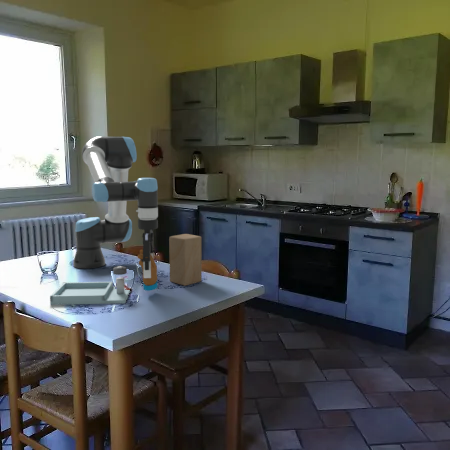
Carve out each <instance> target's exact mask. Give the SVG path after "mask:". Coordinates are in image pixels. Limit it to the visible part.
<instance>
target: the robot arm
mask: <svg viewBox="0 0 450 450" xmlns="http://www.w3.org/2000/svg"><path fill="white" fill-rule="evenodd" d="M81 158H82V160H83V162H84V163H85V165H87V166H88V170H89V172H90V174H91V177H92V180H93V183H92V185H91V194H92V199H93V200H94V202H98V203H101V202H102V203H106V202H107V203H108V206H107V207H108V210H107V213H106V214H105V215H104V219H101V217H98V216H95V217H93V216H92V217H91V216H90V217H86V218H82V219H81V218H80V219H78V220H77V221H76V222H75V230H74V232H75V243H76V246H75V247H76V251H75V255H74V257H73V258H74V259H73V262H72V265H73V267H74V268H76V269H95V268H101V267H103V266H105V265H106V259H105V256H104V253H103V251H102V244H111V243H113V244H114V243H123V242H128V241H129V240H130V239H131V237H132V233H133V221H132V220H131V219H130V216H129V215H128V214H127V202H128V201H129V202H133V201H134V202H135V201H137V209H136V210H135V212H136V213H137V217H138V220H137V228H138V229H139V230H141V231H142V230H143V231H144V232H143V233H142V236H141V237H142V249H143V259H141V262H143V271H142V274H143V273H144V278H151V261H150V254H151V256H152V257H153V258H154V254H155V253H156V250H155V249H154V248H155V247H154V237H155V235H154V234H155V233H154V230H156V229H158V228H159V223H158V222H159V221H158V217H159V206H158V205H159V204H158V200H159V199H158V189H159V188H158V187H159V186H158V180H157V179H156V178H154V177H139V178H137V180H133V181H129V170H130V169H131V168H132V167H133V163H136V161H137V158H138V156H137V147H136V143H135V142H134V139H133V138H131V137H129V136H123V135H122V136H102V135H99V136H94V137H92V138H91V139H89V140H88V141H86V143H85V144H83V147H82V150H81ZM145 257H148V258H145Z"/></svg>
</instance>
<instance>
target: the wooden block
mask: <svg viewBox="0 0 450 450" xmlns="http://www.w3.org/2000/svg"><path fill="white" fill-rule="evenodd" d="M168 241H169V252H168V253H169V282H171V283H175V284H178V285H181V286H188V285H189V286H190V285H194V284H196V283H200V282H202V279H203V277H202V271H203V270H202V269H203V268H202V236H200V235H194V234H191V233H190V234H189V233H182V234H177V235H176V234H175V235H171V236H169V239H168Z"/></svg>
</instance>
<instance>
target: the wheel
mask: <svg viewBox="0 0 450 450" xmlns="http://www.w3.org/2000/svg"><path fill="white" fill-rule="evenodd" d="M112 271H113V275H117V276H119V275H126V274H127V267H126V266H121V265H119V266H114V267H113V269H112Z"/></svg>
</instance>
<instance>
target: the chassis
mask: <svg viewBox="0 0 450 450" xmlns="http://www.w3.org/2000/svg"><path fill="white" fill-rule="evenodd" d="M115 280H116V281H115V282H116V284H115V285H116V286H114V285H113V284H114V283H113V281H88V282H87V281H85V282H84V281H83V282H81V281H79V282H77V281H74V282H73V281H72V282H71V281H69V282H62V283H61V284H60V286H58V287H57V288H56V289H55V291H54V292H53V293H52V294H50V296H49V301H50V302H49V305H50V306H52V305H57V306H59V305H100V304H101V305H102V304H103V305H109V304H110V305H112V304H116V305H118V304H126V303H127V301H128V298H129V296H130V294H129V293H131V291H130V290H125V289H124V286H125V277H116V279H115ZM115 287H117V289H115ZM128 295H129V296H128ZM126 300H127V301H126Z"/></svg>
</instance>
